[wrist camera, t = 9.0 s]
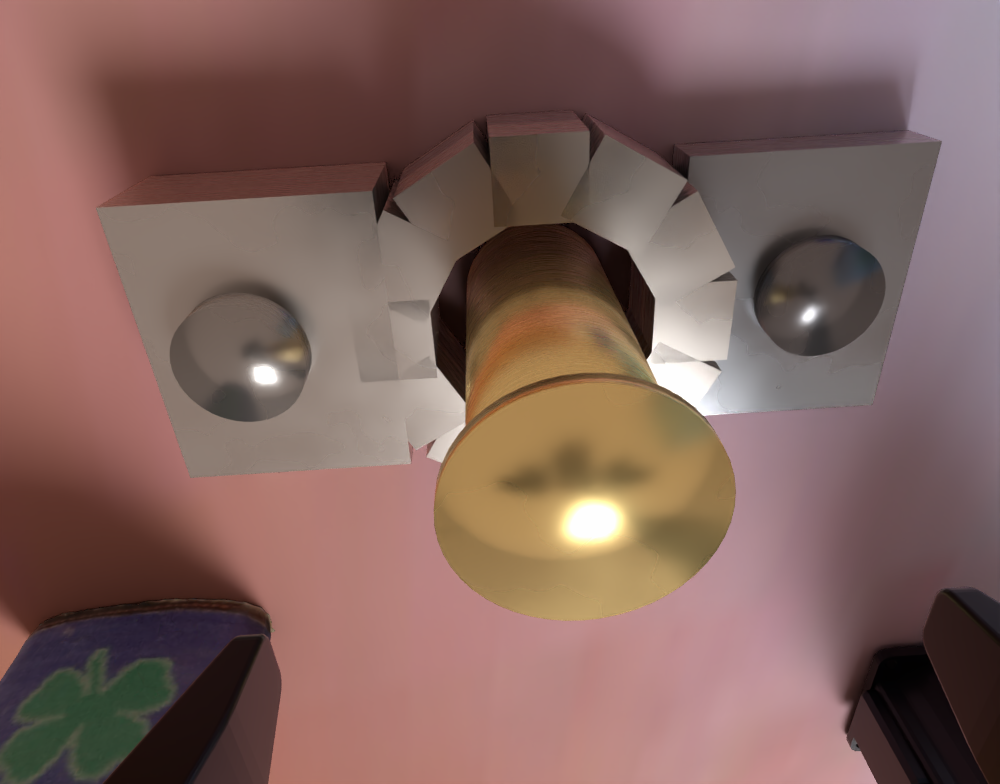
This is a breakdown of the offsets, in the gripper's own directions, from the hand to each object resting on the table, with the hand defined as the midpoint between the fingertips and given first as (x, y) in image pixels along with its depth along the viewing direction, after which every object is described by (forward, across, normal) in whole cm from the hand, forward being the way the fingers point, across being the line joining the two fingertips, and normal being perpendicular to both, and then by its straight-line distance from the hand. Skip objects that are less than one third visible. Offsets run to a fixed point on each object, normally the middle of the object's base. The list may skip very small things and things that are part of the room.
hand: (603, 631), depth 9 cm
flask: (+13, +15, +13) cm, 24 cm away
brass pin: (+12, 0, 0) cm, 12 cm away
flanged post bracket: (+12, 0, 0) cm, 12 cm away
